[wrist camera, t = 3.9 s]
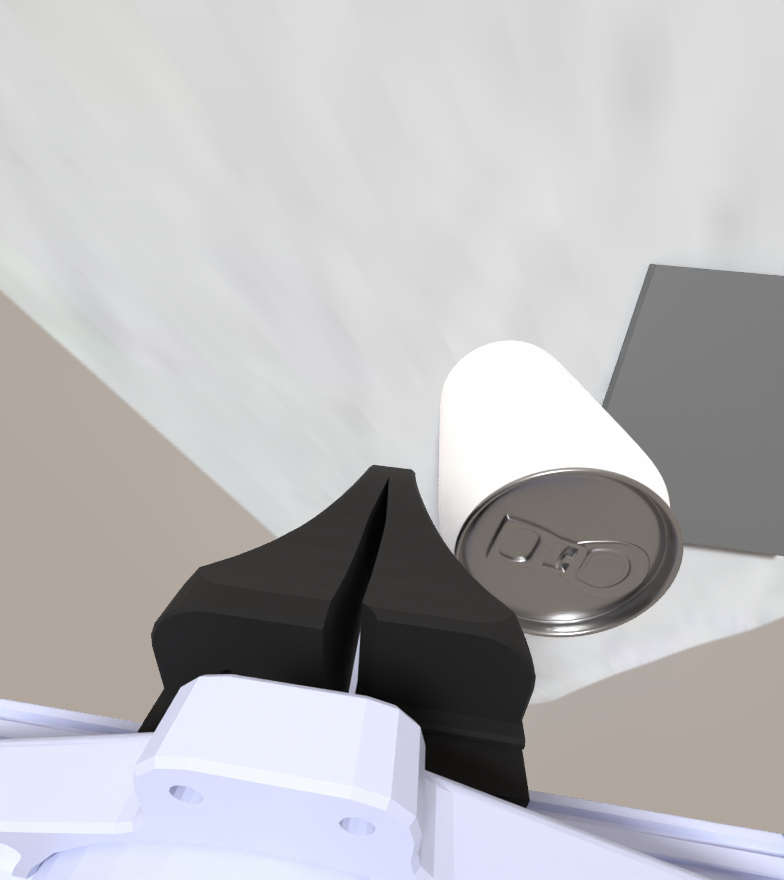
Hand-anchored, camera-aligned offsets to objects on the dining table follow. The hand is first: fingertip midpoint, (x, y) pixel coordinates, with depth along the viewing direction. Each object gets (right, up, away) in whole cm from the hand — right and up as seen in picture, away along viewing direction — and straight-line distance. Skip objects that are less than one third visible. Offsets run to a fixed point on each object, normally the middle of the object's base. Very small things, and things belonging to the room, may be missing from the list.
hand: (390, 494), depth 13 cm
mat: (+17, +2, +8) cm, 19 cm away
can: (+6, +4, +9) cm, 11 cm away
